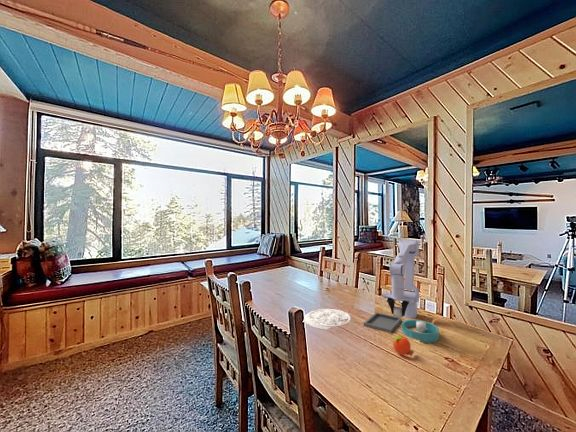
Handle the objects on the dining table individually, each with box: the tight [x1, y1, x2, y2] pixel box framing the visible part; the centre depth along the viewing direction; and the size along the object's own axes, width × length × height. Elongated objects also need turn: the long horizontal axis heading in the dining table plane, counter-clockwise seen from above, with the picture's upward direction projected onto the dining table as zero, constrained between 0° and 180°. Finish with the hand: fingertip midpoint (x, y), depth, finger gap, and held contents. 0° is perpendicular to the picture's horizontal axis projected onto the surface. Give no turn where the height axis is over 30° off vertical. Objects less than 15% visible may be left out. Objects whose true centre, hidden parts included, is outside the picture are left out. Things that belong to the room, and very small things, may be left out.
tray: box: [363, 312, 403, 334], centre depth 138 cm, size 18×14×2 cm
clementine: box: [392, 335, 412, 355], centre depth 110 cm, size 8×7×7 cm
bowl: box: [401, 319, 440, 344], centre depth 126 cm, size 16×16×4 cm
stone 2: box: [415, 320, 427, 333], centre depth 129 cm, size 4×4×4 cm
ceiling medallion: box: [303, 308, 352, 331], centre depth 147 cm, size 28×28×3 cm
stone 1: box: [392, 306, 404, 318], centre depth 129 cm, size 4×4×4 cm
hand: (398, 314), depth 129 cm, fingers closed on stone 1, 4 cm apart
